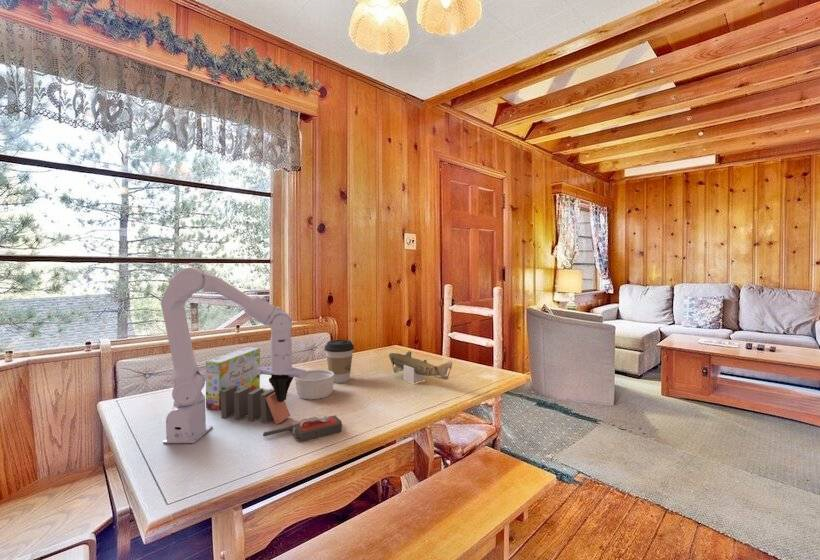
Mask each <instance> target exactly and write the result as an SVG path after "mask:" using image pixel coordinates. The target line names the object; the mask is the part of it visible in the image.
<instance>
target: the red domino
mask: <svg viewBox="0 0 820 560" xmlns="http://www.w3.org/2000/svg"><path fill="white" fill-rule="evenodd" d="M266 401H267V403H268V406H269V408H270V411H271V413H272V416H273V420H274V423H275V425H278V424H281V423H283V421H285V420H287V419H288V418H289V417H291V414H290V411H289V409H288V406H287V404H286V400H285V401H283V402H278V400H277V397H276V393H273V394H271V395H269V396H268V397H266Z"/></svg>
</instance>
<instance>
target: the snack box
mask: <svg viewBox="0 0 820 560" xmlns="http://www.w3.org/2000/svg"><path fill="white" fill-rule="evenodd" d="M260 361H261V348H260V347H251V346H250V347H249V346H247V347H245V348H241V349H239V350H235V351H232V352H230V353H227V354H224V355H221V356H218V357H216V358H213V359H210V360H207V361H205V409H210V410H217V411H220V410H221V391H222V390H224V389H226V388H229V387H231V386H237V391H238V390H240V389H242V388H244V387H250V392H252V391H254V390H256V389H258V388H261V378H260V377H261V375H257V368H259V367H261V362H260Z"/></svg>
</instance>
